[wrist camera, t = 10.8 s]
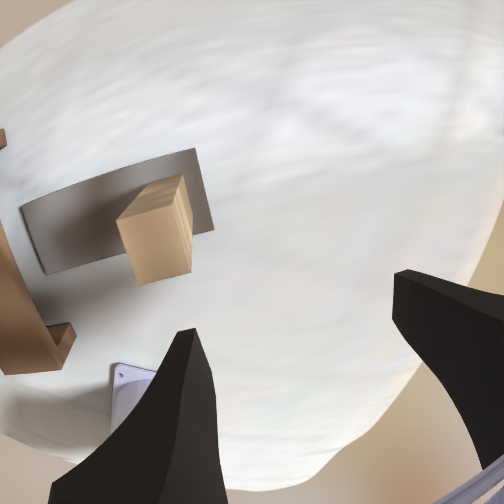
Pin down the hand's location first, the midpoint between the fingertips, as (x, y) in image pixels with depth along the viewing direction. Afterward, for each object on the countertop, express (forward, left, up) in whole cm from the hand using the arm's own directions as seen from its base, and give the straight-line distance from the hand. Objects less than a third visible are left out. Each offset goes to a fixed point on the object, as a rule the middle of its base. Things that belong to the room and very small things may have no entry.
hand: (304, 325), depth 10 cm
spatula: (-1, +9, -11) cm, 14 cm away
